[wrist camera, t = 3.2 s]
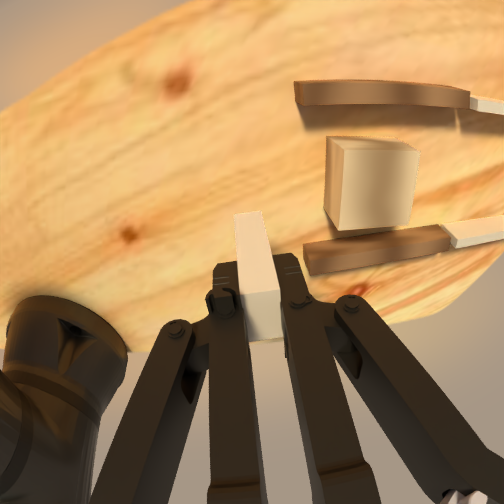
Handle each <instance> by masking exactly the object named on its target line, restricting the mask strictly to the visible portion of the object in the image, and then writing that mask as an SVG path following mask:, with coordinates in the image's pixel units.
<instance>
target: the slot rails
mask: <svg viewBox="0 0 504 504" xmlns="http://www.w3.org/2000/svg"><path fill="white" fill-rule="evenodd" d="M294 90H295V101H296V102H298V103H299V104H301V105H303V106H313V105H334V104H406V105H426V106H440V107H452V108H462V109H470V91H466V90H463V89H459V88H455V87H451V86H443V85H434V84H425V83H414V82H400V81H382V80H310V81H294ZM450 241H451V237H450V236H449V235H448V234H447V233H446V232H445V231H444V230H443V229H442V228H441V227H440V226H439V225H438V224H437V225H430V226H423V227H416V228H409V229H402V230H395V231H388V232H382V233H375V234H368V235H361V236H354V237H347V238H340V239H334V240H327V241H320V242H313V243H306V244H303V258H304V261H305V263H306V266H307V268H308V271H309V274H310V275H316V274H322V273H328V272H334V271H340V270H346V269H352V268H358V267H364V266H369V265H375V264H381V263H386V262H392V261H397V260H403V259H408V258H413V257H419V256H424V255H429V254H434V253H440V252H445V251H448V249H449V245H450Z"/></svg>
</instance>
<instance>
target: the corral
mask: <svg viewBox="0 0 504 504" xmlns="http://www.w3.org/2000/svg"><path fill="white" fill-rule="evenodd" d="M470 109H473V110H476V111H480V112H488V113H495V114H502V115H504V100H499V99H493V98H488V97H482V96H476V95H470ZM441 228H442V229H443V230H444V231H445V232H446V233H447V234H448V235H449V236H450V237H451V241H450V243H451V244H452V245H453V246H454V247H455V248H461V247H466V246H471V245H476V244H481V243H486V242H491V241H495V240H500V239H504V214H503V215H499V216H492V217H485V218H478V219H471V220H464V221H457V222H450V223H443V224H441Z"/></svg>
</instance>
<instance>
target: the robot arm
mask: <svg viewBox="0 0 504 504" xmlns="http://www.w3.org/2000/svg"><path fill="white" fill-rule="evenodd" d="M234 226H235V240H236V253H237V261H233V262H226V263H218V264H217V265H216V267H215V268H214V270H213V289H212V290H210V291H209V292H208V294H207V295H206V298H205V300H206V304H207V308H208V311H209V315H208V316H207V317H205V318H204V319H202V320H200V321H198V322H196V323H193V324H190V323H189V322H188V321H186V320H182V319H178V320H173V321H170V322H168V323H167V324H165V325H164V326H163V327H162V329H161V330H160V332H159V335H158V337H157V339H156V341H155V343H154V346H153V348H152V350H151V352H150V354H149V357H148V359H147V361H146V363H145V366H144V368H143V370H142V372H141V375H140V377H139V379H138V382H137V384H136V386H135V388H134V391H133V393H132V395H131V398H130V400H129V402H128V405H127V407H126V410H125V412H124V414H123V417H122V419H121V422H120V424H119V426H118V429H117V431H116V434H115V436H114V439H113V441H112V444H111V446H110V449H109V451H108V454H107V457H106V459H105V462H104V464H103V466H102V469H101V472H100V474H99V477H98V480H97V482H96V485H95V487H94V490H93V493H92V496H91V486H92V476H93V467H94V459H95V451H96V445H97V438H98V432H99V426H100V420H101V416H102V414H103V413H104V411H105V409H106V407H107V406H108V404H109V403H110V401H111V399H112V398H113V396H114V394H115V392H116V390H117V388H118V387H119V386H120V385H121V383H122V382H123V380H124V377H125V372H126V367H127V362H128V355H127V350H126V347H125V345H124V343H123V341H122V340H121V338H120V337H119V335H118V334H117V333H116V331H115V330H114V329H113V328H112V327H111V326H110V325H109V324H108V323H107V322H105V321H104V320H103V319H102V318H100V317H99V316H98V315H96V314H95V313H93V312H92V311H90V310H88V309H87V308H85V307H83V306H81V305H79V304H77V303H74V302H72V301H69V300H66V299H63V298H59V297H54V296H33V297H29V298H27V299H25V300H23V301H22V302H20V303H19V304H18V305H17V307H16V308H15V310H14V312H13V314H12V316H11V318H10V319H9V322H8V325H7V332H6V338H7V340H6V346H5V353H4V360H3V369H2V371H1V370H0V504H168V501H169V497H170V494H171V491H172V487H173V484H174V480H175V477H176V473H177V470H178V466H179V463H180V460H181V456H182V453H183V450H184V446H185V443H186V439H187V435H188V432H189V429H190V426H191V422H192V419H193V416H194V412H195V409H196V406H197V402H198V399H199V395H200V392H201V389H202V385H203V382H204V378H205V375H206V370H208V369H209V434H210V469H211V483H210V486H209V488H208V492H207V504H268V500H267V493H266V484H265V476H264V468H263V460H262V451H261V442H260V434H259V425H258V416H257V408H256V399H255V390H254V381H253V372H252V363H251V354H250V348H249V342H252V341H260V340H267V339H274V338H280V337H283V336H284V345H285V346H284V347H285V358H287V362H288V367H289V372H290V378H291V383H292V388H293V393H294V398H295V403H296V408H297V414H298V419H299V425H300V429H301V435H302V441H303V446H304V451H305V456H306V462H307V467H308V473H309V478H310V484H311V490H312V501H313V504H381V500H380V496H379V492H378V488H377V485H376V481H375V478H374V474H373V471H372V468H371V467H370V465H369V464H368V463H367V462H366V461H365V460H364V457H363V454H362V451H361V447H360V444H359V440H358V437H357V433H356V429H355V426H354V422H353V419H352V416H351V412H350V409H349V405H348V403H347V399H346V395H345V392H344V389H343V386H342V382H341V379H340V376H339V373H338V369H337V366H336V363H335V360H334V357H335V358H336V360H337V361H338V363H339V364H340V366H341V368H342V369H343V370H344V372H345V374H346V375H347V376H348V378H349V380H350V381H351V383H352V384H353V385H354V387H355V389H356V390H357V392H358V393H359V395H360V396H361V398H362V399H363V401H364V402H365V404H366V405H367V407H368V408H369V410H370V411H371V413H372V414H373V415H374V417H375V419H376V420H377V422H378V423H379V425H380V426H381V428H382V430H383V431H384V433H385V434H386V436H387V437H388V439H389V440H390V442H391V443H392V445H393V446H394V448H395V449H396V451H397V452H398V454H399V455H400V457H401V458H402V460H403V462H404V463H405V465H406V466H407V468H408V469H409V471H410V472H411V474H412V475H413V477H414V479H415V480H416V481H417V483H418V485H419V486H420V487H421V488H422V490H423V491H424V493H425V494H426V495H427V496H428V497H429V498H430V499H431V500H432V501H433V502H434V503H435V504H504V459H503V458H502V457H500V456H499V455H497V454H495V453H494V452H492V451H490V450H489V449H487V448H486V446H485V445H484V444H483V442H482V441H481V440H480V439H479V437H478V436H477V434H476V433H475V432H474V430H473V429H472V428H471V426H470V425H469V424H468V423H467V421H466V420H465V419H464V417H463V416H462V415H461V414H460V412H459V411H458V410H457V409H456V407H455V406H454V405H453V404H452V402H451V401H450V400H449V399H448V397H447V396H446V395H445V393H444V392H443V391H442V390H441V388H440V387H439V386H438V385H437V384H436V382H435V381H434V380H433V379H432V377H431V376H430V375H429V374H428V373H427V372H426V370H425V369H424V368H423V366H422V365H421V364H420V363H419V362H418V360H417V359H416V358H415V357H414V356H413V355H412V353H411V352H410V351H409V350H408V349H407V347H406V346H405V345H404V344H403V343H402V342H401V340H400V339H399V338H398V337H397V336H396V335H395V333H394V332H393V331H392V330H391V329H390V328H389V327H388V325H387V324H386V323H385V322H384V321H383V320H382V318H381V317H380V316H379V315H378V314H377V313H376V312H375V311H374V309H373V308H372V307H371V306H370V305H369V304H368V303H367V302H366V300H364V299H363V298H362V297H360V296H357V295H344V296H342V297H340V298H338V300H337V301H336V302H335V303H325V302H321V301H318V300H316V299H314V298H313V296H312V295H311V294H310V293H309V291H308V288H307V285H306V282H305V279H304V276H303V273H302V270H301V267H300V264H299V261H298V258H296V257H295V256H294V255H293V254H292V253H286V254H279V255H272V253H271V249H270V245H269V241H268V237H267V232H266V228H265V224H264V220H263V216H262V212H261V211H254V212H247V213H239V214H234ZM333 356H334V357H333ZM90 497H91V498H90Z"/></svg>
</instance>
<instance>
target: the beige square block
mask: <svg viewBox="0 0 504 504" xmlns="http://www.w3.org/2000/svg"><path fill="white" fill-rule="evenodd" d="M420 152H421V151H419V150H417V149H415V148H414V147H412V146H410V145H408V144H407V143H405V142H403V141H401V140H399V139H398V138H396V137H371V136H326V168H325V190H324V209H325V211H326V212H327V214H328V215H329V217H330V218H331V220H332V222H333V223H334V225H335V226H336V228H337V229H338V231H341V230H353V229H365V228H378V227H391V226H404V225H409V220H410V215H411V209H412V204H413V198H414V193H415V187H416V180H417V174H418V167H419V160H420Z"/></svg>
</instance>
